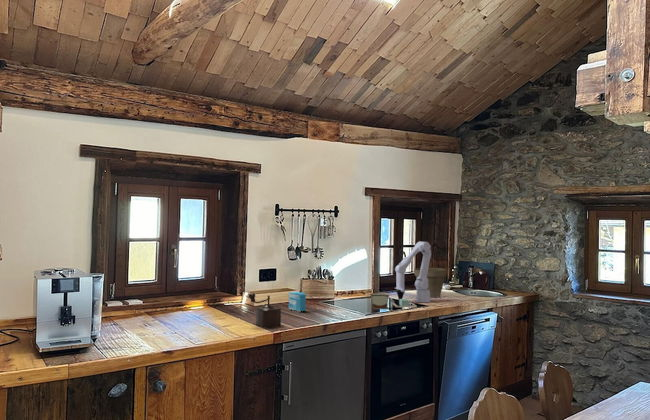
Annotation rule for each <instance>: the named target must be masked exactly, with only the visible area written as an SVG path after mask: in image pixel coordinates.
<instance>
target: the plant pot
mask: <svg viewBox="0 0 650 420" xmlns="http://www.w3.org/2000/svg"><path fill="white" fill-rule="evenodd" d="M420 269H421V267H417V268H414V269H413V274H414V276H415V278H416V280H417V277H418V276H419V274H420ZM446 276H447V269H445V268H443V267H442V268H441V267H429V268H428V273H427V279H428V288H427V290H429V291H430V299H431V298H432V299H433V298H435V299H436V298H440V297H441V294H442V291H443V287H444V282H445V277H446Z"/></svg>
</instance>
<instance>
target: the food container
mask: <svg viewBox="0 0 650 420" xmlns="http://www.w3.org/2000/svg"><path fill="white" fill-rule="evenodd" d="M370 298H371V302H372V309H373V310H388V303H389V298H390V294H389V293H385V292H372V293H371V294H370Z"/></svg>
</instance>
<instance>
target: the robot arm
mask: <svg viewBox="0 0 650 420" xmlns="http://www.w3.org/2000/svg"><path fill="white" fill-rule="evenodd" d="M420 252H421V254H422V260H421V265H420V268H421V269H420V274H419V276H418V277H417V279H416V280H415V282H414V287H415V289H416V299H415V300H414V301H415V302H417V303H431V298H430V291H429V290H427V288H428V279H427V273H428V268H430V262H431V258H432V250H431V244H430V243H429V242H428V241H420V240H419V241H418V242H416V243H415V245H414V246H413V248H412V250H411V251H410V252H409V254H408V255H407V256H405V257H402V260H401V261H400V262H399V263H398V264H397V265H396V266H395V268H394V271H395V273H396V276H395V277H396V280H395V281H396V287H394V289H396V291H395V292H396V294H397V295H396V296H397V299H398V300H399V299H404V295H405V292H406V291H405V289H406V288H405V273H406V271H407V268H408V267H409V266H410V264H411V263H412V259H414V257H415V256H416V255H417V254H418V253H420Z"/></svg>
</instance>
